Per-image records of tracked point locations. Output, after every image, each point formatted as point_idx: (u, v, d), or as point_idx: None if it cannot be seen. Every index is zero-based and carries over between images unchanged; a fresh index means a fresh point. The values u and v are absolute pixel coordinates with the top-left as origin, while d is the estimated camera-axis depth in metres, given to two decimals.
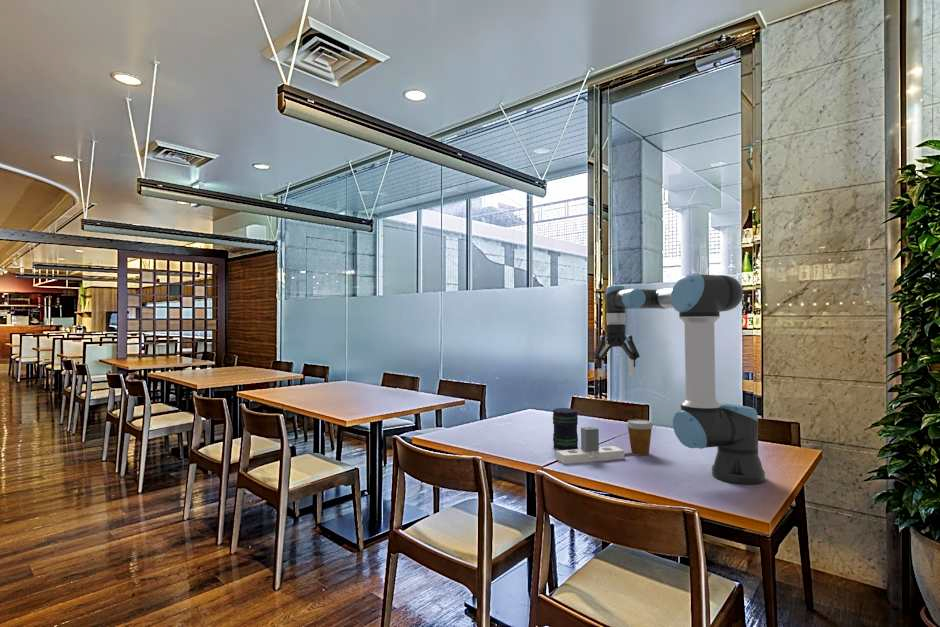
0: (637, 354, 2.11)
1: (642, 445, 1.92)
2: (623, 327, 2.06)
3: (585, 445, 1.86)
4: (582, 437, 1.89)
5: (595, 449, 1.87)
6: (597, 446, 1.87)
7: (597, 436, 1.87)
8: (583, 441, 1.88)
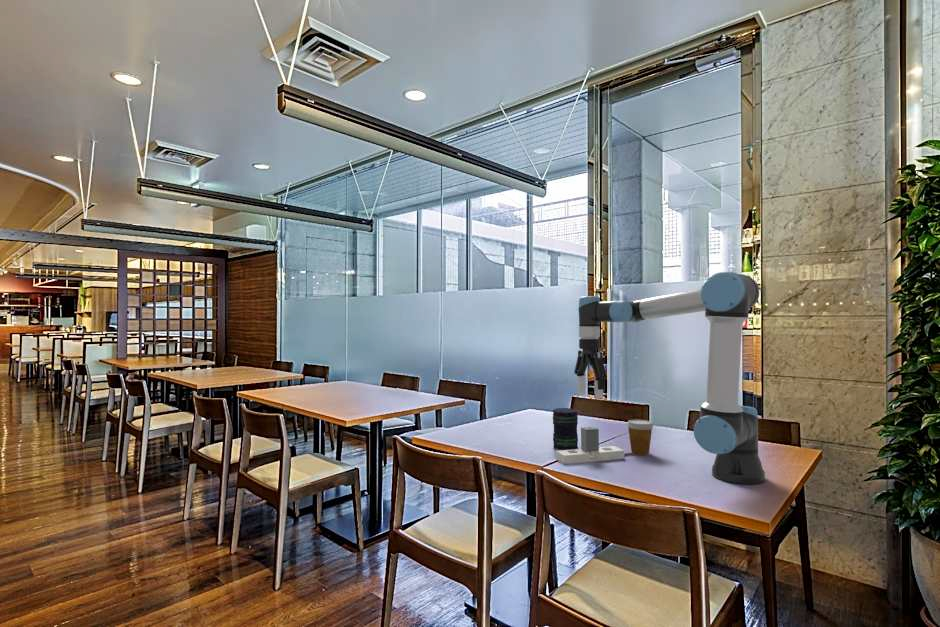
0: (599, 375, 1.81)
1: (642, 445, 1.92)
2: (582, 342, 1.88)
3: (585, 445, 1.86)
4: (582, 437, 1.89)
5: (595, 449, 1.87)
6: (597, 446, 1.87)
7: (597, 436, 1.87)
8: (583, 441, 1.88)
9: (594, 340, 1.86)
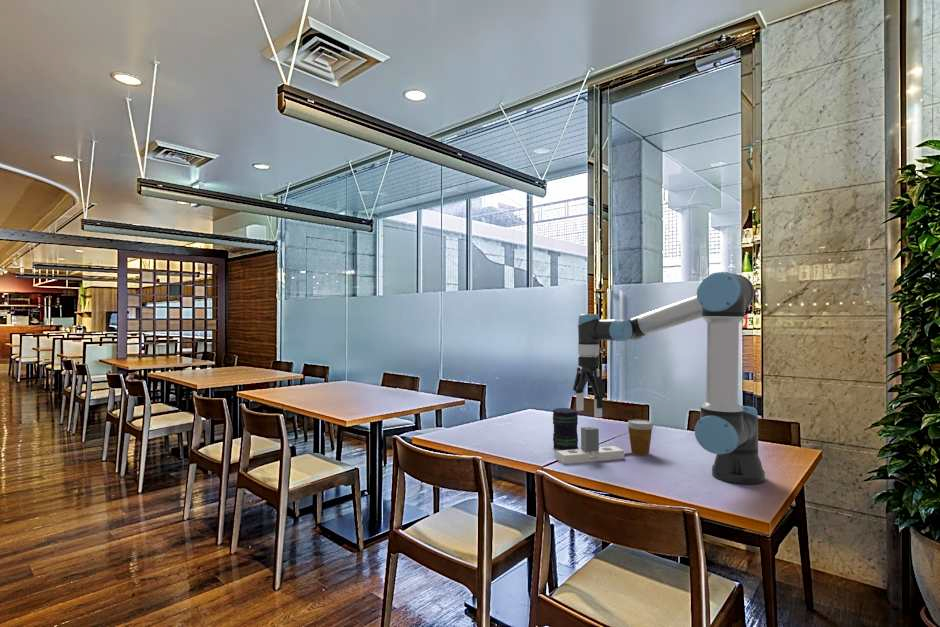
0: (598, 394, 1.80)
1: (642, 445, 1.92)
2: (581, 360, 1.87)
3: (585, 445, 1.86)
4: (582, 437, 1.89)
5: (595, 449, 1.87)
6: (597, 446, 1.87)
7: (597, 436, 1.87)
8: (583, 441, 1.88)
9: (593, 358, 1.86)
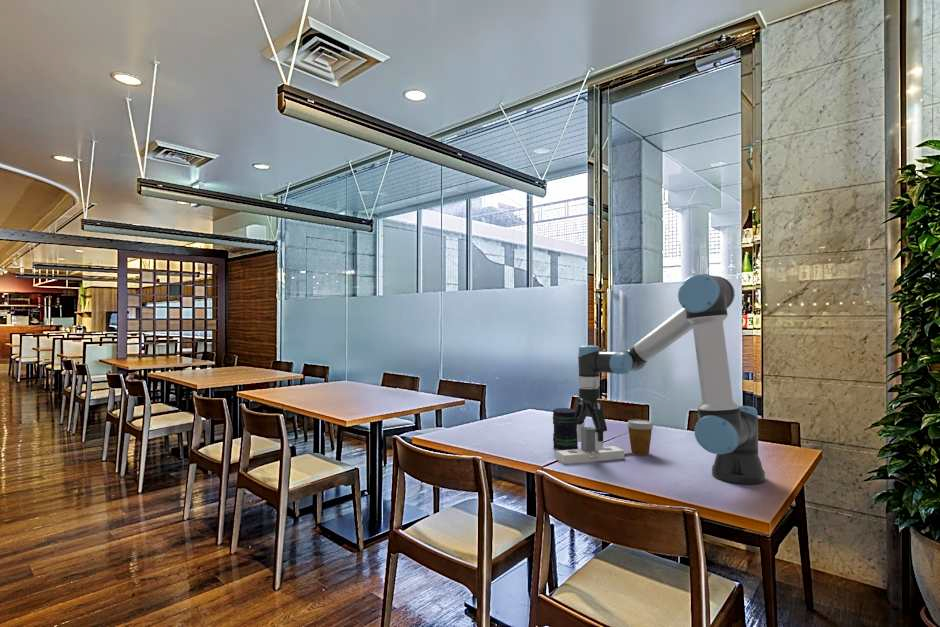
0: (599, 427, 1.80)
1: (642, 445, 1.92)
2: (582, 392, 1.87)
3: (585, 445, 1.86)
4: (582, 437, 1.89)
5: None
6: None
7: None
8: (583, 441, 1.88)
9: (594, 390, 1.85)
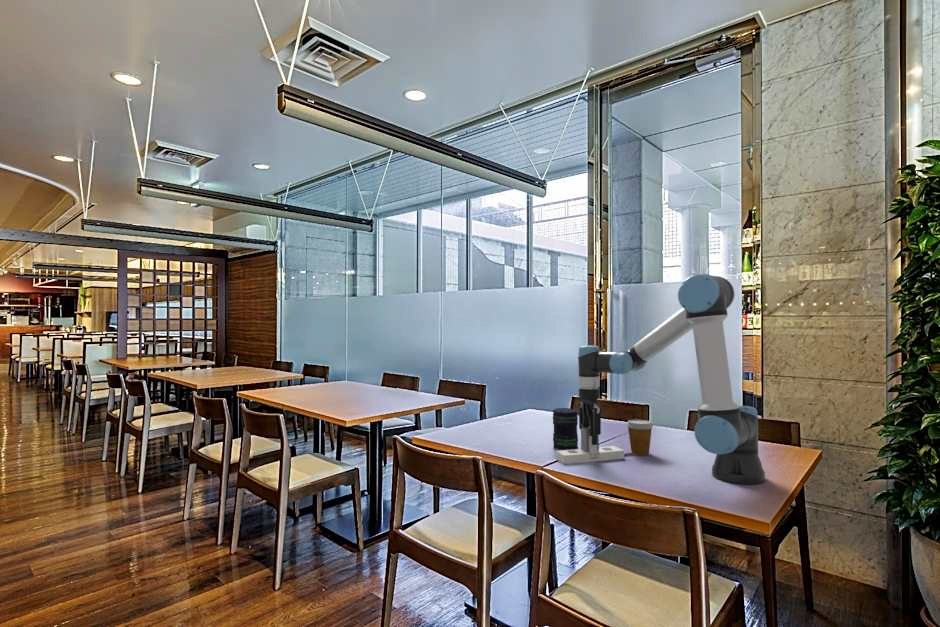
0: (593, 431, 1.83)
1: (642, 445, 1.92)
2: (582, 392, 1.87)
3: (585, 445, 1.86)
4: (582, 437, 1.89)
5: None
6: (597, 446, 1.87)
7: (597, 436, 1.87)
8: (583, 441, 1.88)
9: (594, 390, 1.85)
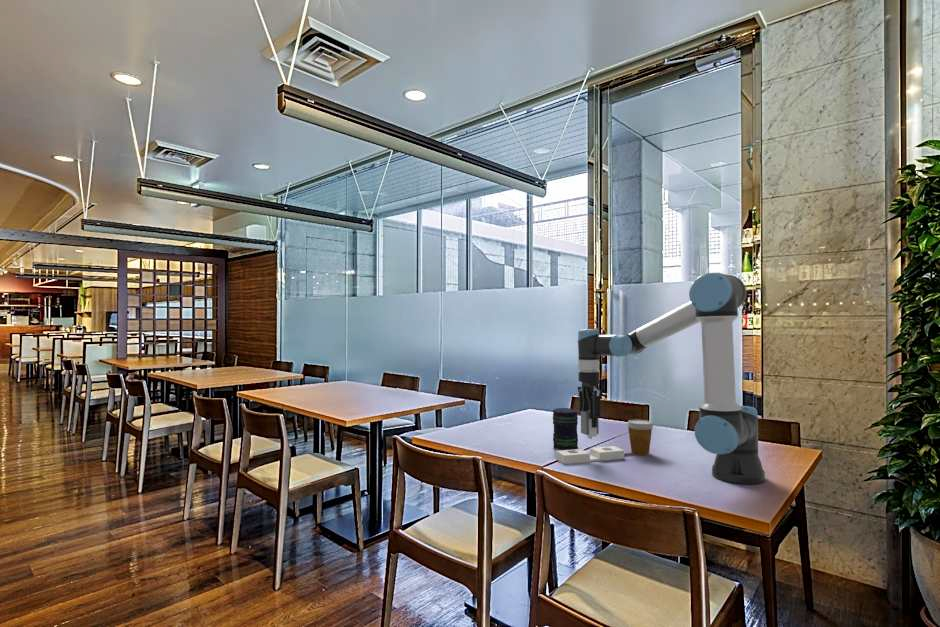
0: (593, 413, 1.84)
1: (642, 445, 1.92)
2: (582, 375, 1.87)
3: (585, 429, 1.86)
4: (582, 420, 1.89)
5: None
6: (597, 429, 1.87)
7: (597, 419, 1.87)
8: (583, 424, 1.88)
9: (594, 373, 1.86)
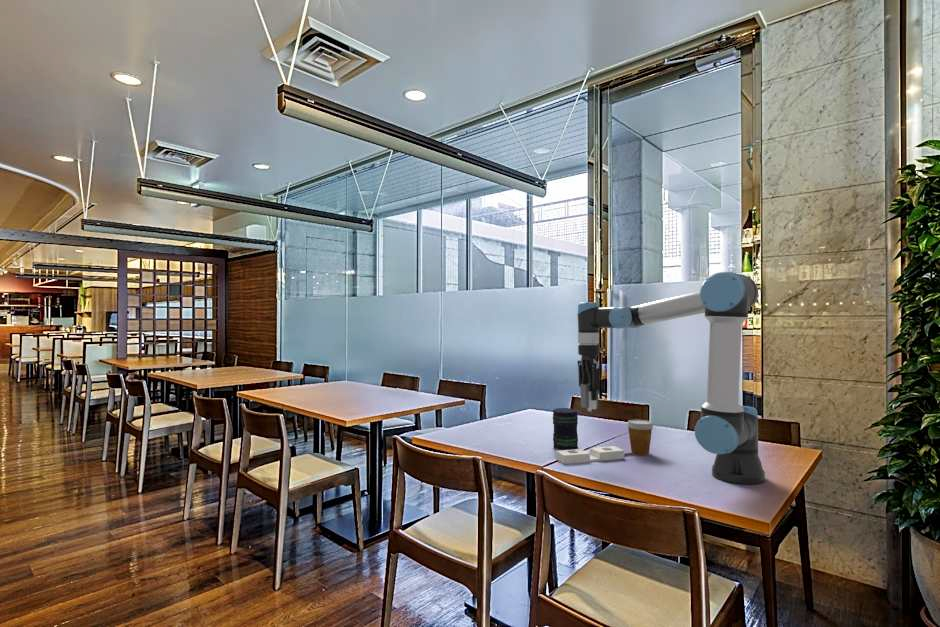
0: (593, 386, 1.84)
1: (642, 445, 1.92)
2: (581, 348, 1.87)
3: (585, 401, 1.87)
4: (581, 393, 1.89)
5: None
6: (596, 402, 1.87)
7: (597, 392, 1.88)
8: (582, 397, 1.88)
9: (593, 346, 1.86)
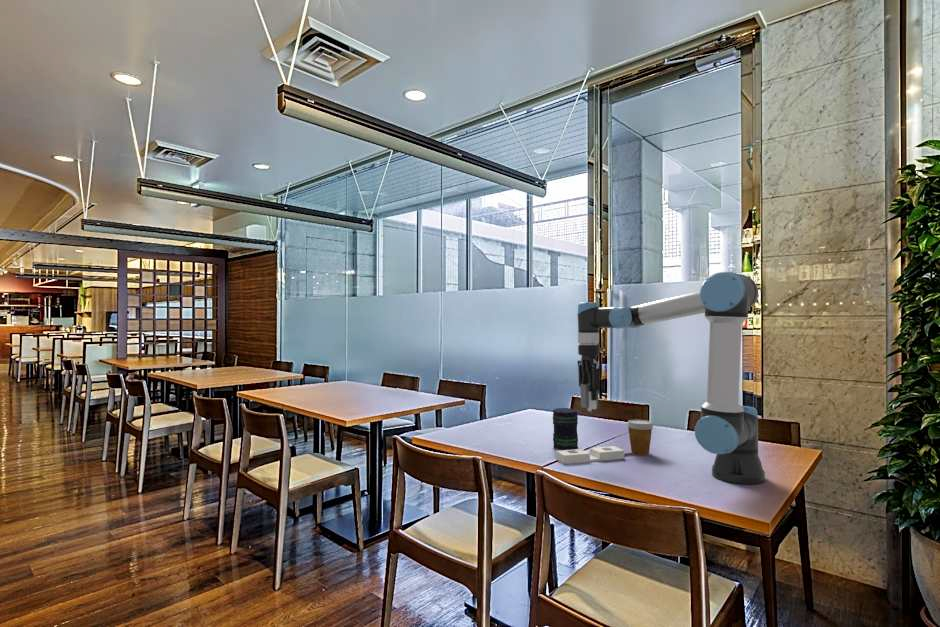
0: (593, 386, 1.84)
1: (642, 445, 1.92)
2: (581, 348, 1.87)
3: (585, 401, 1.87)
4: (581, 393, 1.89)
5: None
6: (596, 402, 1.87)
7: (597, 392, 1.88)
8: (582, 397, 1.88)
9: (593, 346, 1.86)
